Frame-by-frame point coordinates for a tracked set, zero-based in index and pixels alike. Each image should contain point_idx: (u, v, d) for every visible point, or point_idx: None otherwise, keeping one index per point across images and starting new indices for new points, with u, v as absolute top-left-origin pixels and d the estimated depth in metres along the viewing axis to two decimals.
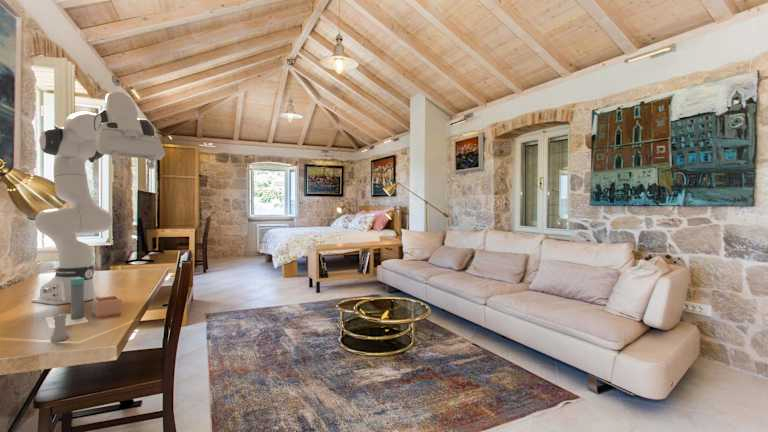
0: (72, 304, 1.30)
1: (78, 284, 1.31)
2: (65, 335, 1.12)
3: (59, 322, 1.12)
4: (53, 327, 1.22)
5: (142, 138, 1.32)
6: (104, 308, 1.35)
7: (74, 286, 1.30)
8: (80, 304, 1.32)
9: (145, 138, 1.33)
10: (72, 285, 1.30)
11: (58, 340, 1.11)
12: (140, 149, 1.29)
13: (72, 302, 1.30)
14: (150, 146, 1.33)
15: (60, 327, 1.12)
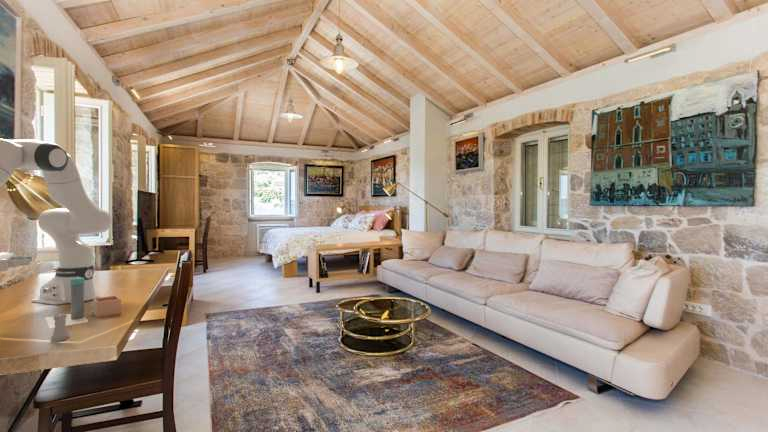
0: (72, 304, 1.30)
1: (78, 284, 1.31)
2: (65, 335, 1.12)
3: (59, 322, 1.12)
4: (53, 327, 1.22)
5: None
6: (104, 308, 1.35)
7: (74, 286, 1.30)
8: (80, 304, 1.32)
9: None
10: (72, 285, 1.30)
11: (58, 340, 1.11)
12: None
13: (72, 302, 1.30)
14: None
15: (60, 327, 1.12)
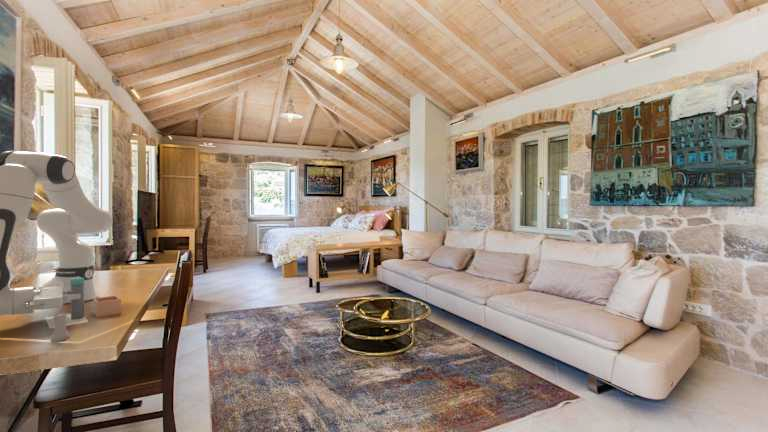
0: (72, 304, 1.30)
1: (78, 284, 1.31)
2: (65, 335, 1.12)
3: (59, 322, 1.12)
4: (53, 327, 1.22)
5: None
6: (104, 308, 1.35)
7: (74, 286, 1.30)
8: (80, 304, 1.32)
9: None
10: (72, 285, 1.30)
11: (58, 340, 1.11)
12: None
13: (72, 302, 1.30)
14: None
15: (60, 327, 1.12)
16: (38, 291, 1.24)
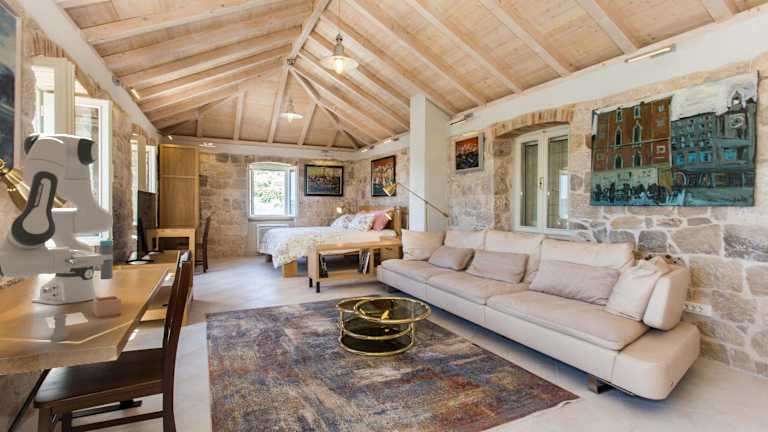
0: (103, 265, 1.37)
1: (109, 245, 1.37)
2: (65, 335, 1.12)
3: (59, 322, 1.12)
4: (53, 327, 1.22)
5: None
6: (104, 308, 1.35)
7: (105, 247, 1.37)
8: (111, 264, 1.38)
9: None
10: (103, 246, 1.36)
11: (58, 340, 1.11)
12: None
13: (103, 263, 1.36)
14: None
15: (60, 327, 1.12)
16: (73, 251, 1.29)
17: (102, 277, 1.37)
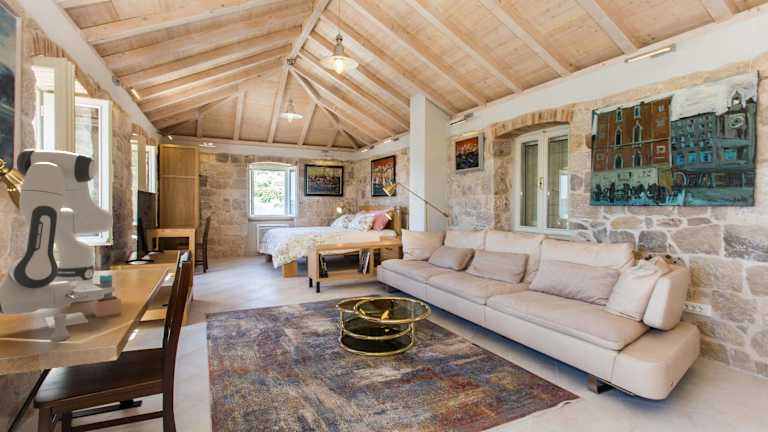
0: (103, 300, 1.37)
1: (108, 280, 1.38)
2: (65, 335, 1.12)
3: (59, 322, 1.12)
4: (53, 327, 1.22)
5: None
6: (104, 308, 1.35)
7: (105, 282, 1.37)
8: (111, 299, 1.39)
9: None
10: (103, 282, 1.37)
11: (58, 340, 1.11)
12: None
13: (103, 298, 1.37)
14: None
15: (60, 327, 1.12)
16: (74, 285, 1.30)
17: None
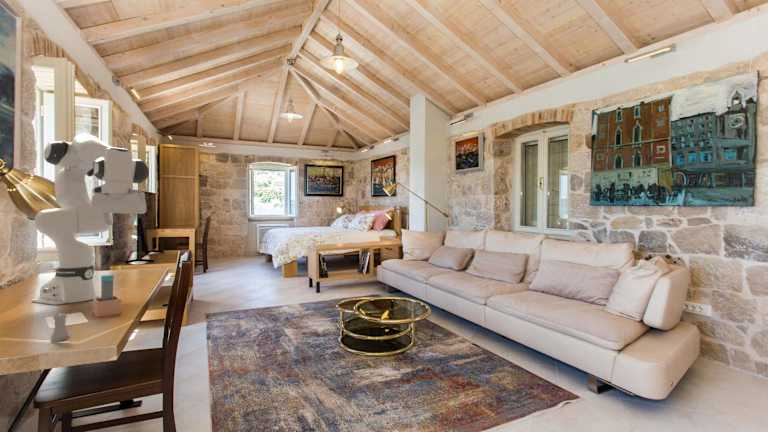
0: (103, 300, 1.37)
1: (110, 280, 1.38)
2: (65, 335, 1.12)
3: (59, 322, 1.12)
4: (53, 327, 1.22)
5: (123, 197, 1.42)
6: (104, 308, 1.35)
7: (106, 282, 1.37)
8: (111, 299, 1.39)
9: (125, 196, 1.42)
10: (104, 281, 1.37)
11: (58, 340, 1.11)
12: (120, 210, 1.42)
13: (104, 298, 1.37)
14: (128, 205, 1.42)
15: (60, 327, 1.12)
16: None
17: None
